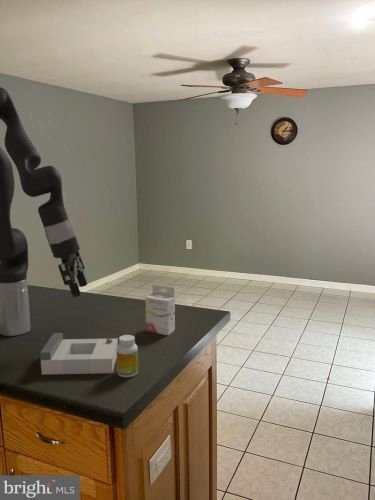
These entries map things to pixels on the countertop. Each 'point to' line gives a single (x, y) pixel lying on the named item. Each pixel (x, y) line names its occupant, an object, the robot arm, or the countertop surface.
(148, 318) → the ink cartridge box
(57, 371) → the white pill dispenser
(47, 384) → the countertop surface
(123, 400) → the countertop surface
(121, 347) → the supplement bottle
